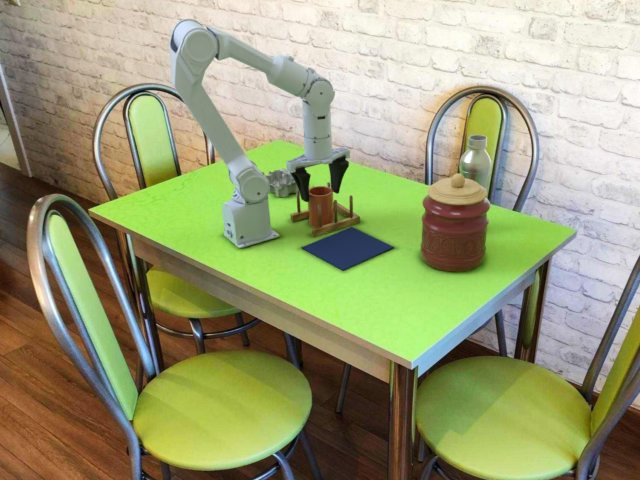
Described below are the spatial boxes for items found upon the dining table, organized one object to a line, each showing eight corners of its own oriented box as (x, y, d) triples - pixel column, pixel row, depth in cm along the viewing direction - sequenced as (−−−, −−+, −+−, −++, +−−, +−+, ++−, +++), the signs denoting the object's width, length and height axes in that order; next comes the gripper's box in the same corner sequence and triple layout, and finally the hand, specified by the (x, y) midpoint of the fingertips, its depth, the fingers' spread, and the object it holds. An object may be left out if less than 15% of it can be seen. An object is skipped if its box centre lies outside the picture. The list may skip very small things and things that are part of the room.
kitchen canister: (430, 276, 134) (434, 190, 124) (412, 245, 144) (415, 164, 135) (494, 269, 136) (503, 184, 126) (472, 239, 146) (479, 159, 137)
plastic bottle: (485, 235, 148) (494, 144, 137) (453, 232, 149) (459, 142, 138) (486, 222, 153) (495, 133, 142) (455, 220, 155) (462, 131, 144)
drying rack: (313, 236, 148) (312, 207, 145) (290, 220, 155) (288, 191, 151) (360, 222, 154) (360, 193, 150) (335, 207, 161) (334, 179, 157)
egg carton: (256, 186, 172) (254, 170, 170) (282, 178, 176) (280, 163, 173) (279, 199, 165) (277, 183, 162) (305, 191, 168) (304, 175, 166)
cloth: (343, 271, 136) (343, 269, 136) (301, 248, 144) (301, 247, 144) (393, 248, 144) (394, 246, 144) (351, 227, 152) (351, 226, 152)
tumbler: (317, 230, 151) (316, 198, 147) (304, 221, 155) (302, 189, 151) (338, 224, 153) (337, 192, 149) (325, 215, 157) (324, 183, 153)
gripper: (296, 147, 137) (300, 210, 144) (357, 132, 144) (358, 194, 151) (279, 137, 142) (284, 199, 149) (339, 124, 149) (340, 183, 156)
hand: (320, 196), depth 151 cm, fingers open, 7 cm apart
